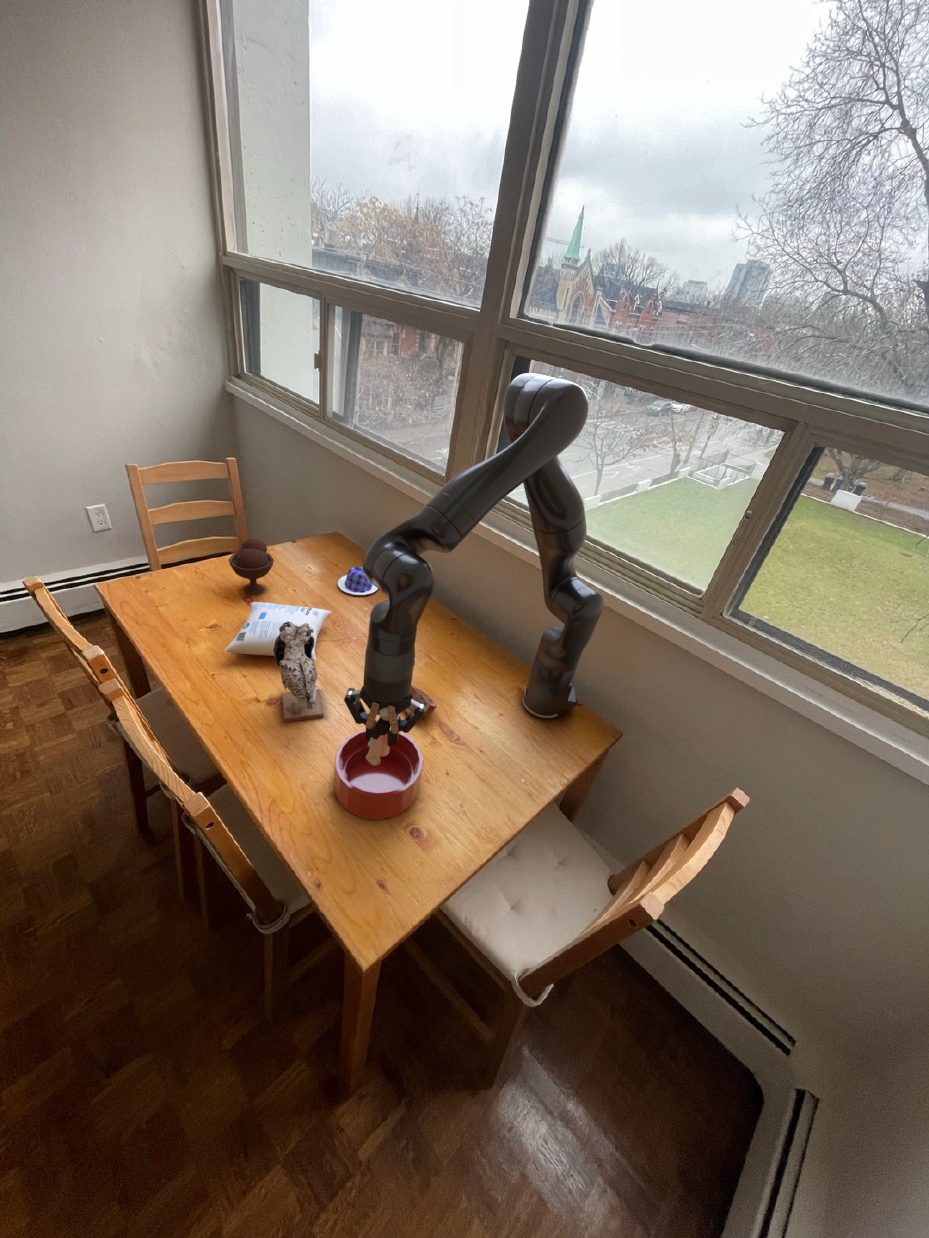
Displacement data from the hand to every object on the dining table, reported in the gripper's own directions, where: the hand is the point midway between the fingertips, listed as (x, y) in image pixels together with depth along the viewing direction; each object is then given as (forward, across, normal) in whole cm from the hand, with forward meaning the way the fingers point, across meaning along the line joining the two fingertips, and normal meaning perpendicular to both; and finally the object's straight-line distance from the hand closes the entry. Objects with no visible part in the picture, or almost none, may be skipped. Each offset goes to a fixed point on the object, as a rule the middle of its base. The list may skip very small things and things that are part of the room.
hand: (381, 741), depth 88 cm
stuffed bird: (+12, -20, +16) cm, 28 cm away
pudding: (+12, -22, +67) cm, 71 cm away
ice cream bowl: (+12, -48, +55) cm, 74 cm away
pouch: (+12, -32, +35) cm, 49 cm away
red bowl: (+12, 0, 0) cm, 12 cm away
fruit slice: (+12, +4, +21) cm, 24 cm away
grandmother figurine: (+3, 0, 0) cm, 3 cm away
